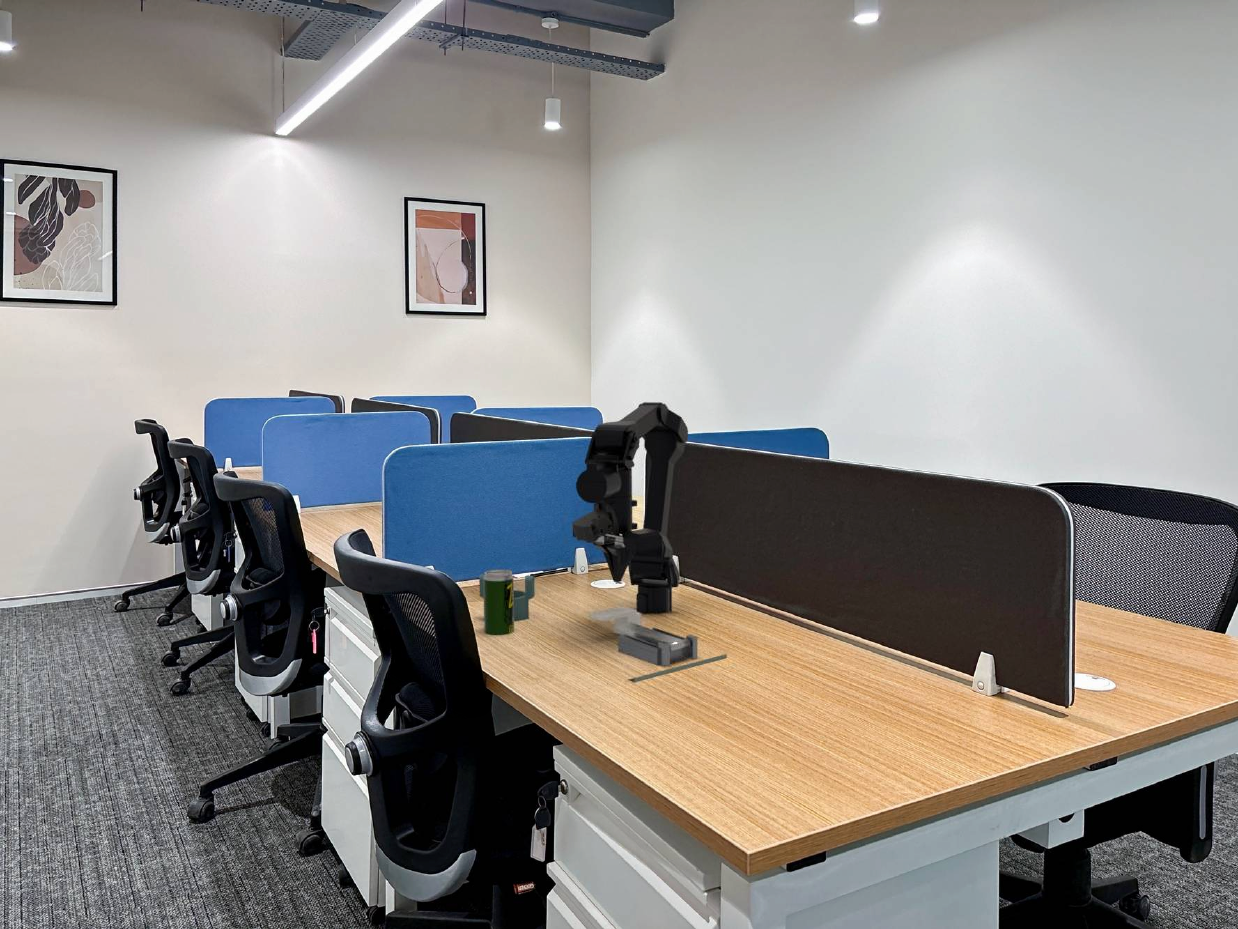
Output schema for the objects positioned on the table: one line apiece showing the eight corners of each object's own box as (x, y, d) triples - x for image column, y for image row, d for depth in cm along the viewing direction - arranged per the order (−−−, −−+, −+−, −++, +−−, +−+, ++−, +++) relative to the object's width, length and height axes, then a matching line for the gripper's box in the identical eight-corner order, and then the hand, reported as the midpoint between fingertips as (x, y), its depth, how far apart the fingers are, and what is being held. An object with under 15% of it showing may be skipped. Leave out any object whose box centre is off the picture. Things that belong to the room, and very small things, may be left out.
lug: (627, 629, 169) (626, 605, 169) (641, 634, 166) (641, 609, 166) (589, 637, 164) (589, 612, 164) (603, 642, 161) (603, 617, 161)
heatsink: (654, 643, 161) (654, 622, 161) (699, 658, 152) (699, 636, 152) (618, 652, 156) (618, 630, 156) (662, 668, 147) (662, 644, 147)
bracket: (537, 622, 180) (537, 576, 179) (493, 628, 175) (493, 581, 175) (518, 612, 188) (518, 568, 187) (475, 618, 183) (475, 573, 182)
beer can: (484, 642, 166) (483, 576, 165) (484, 634, 171) (483, 569, 170) (514, 641, 167) (513, 575, 166) (513, 633, 172) (512, 569, 171)
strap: (632, 627, 162) (633, 620, 162) (690, 648, 151) (690, 640, 151) (614, 631, 160) (614, 623, 160) (671, 653, 148) (671, 644, 148)
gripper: (547, 494, 166) (549, 580, 168) (614, 506, 152) (615, 599, 154) (596, 488, 173) (597, 570, 175) (664, 498, 159) (665, 588, 161)
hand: (617, 581), depth 166 cm, fingers closed
